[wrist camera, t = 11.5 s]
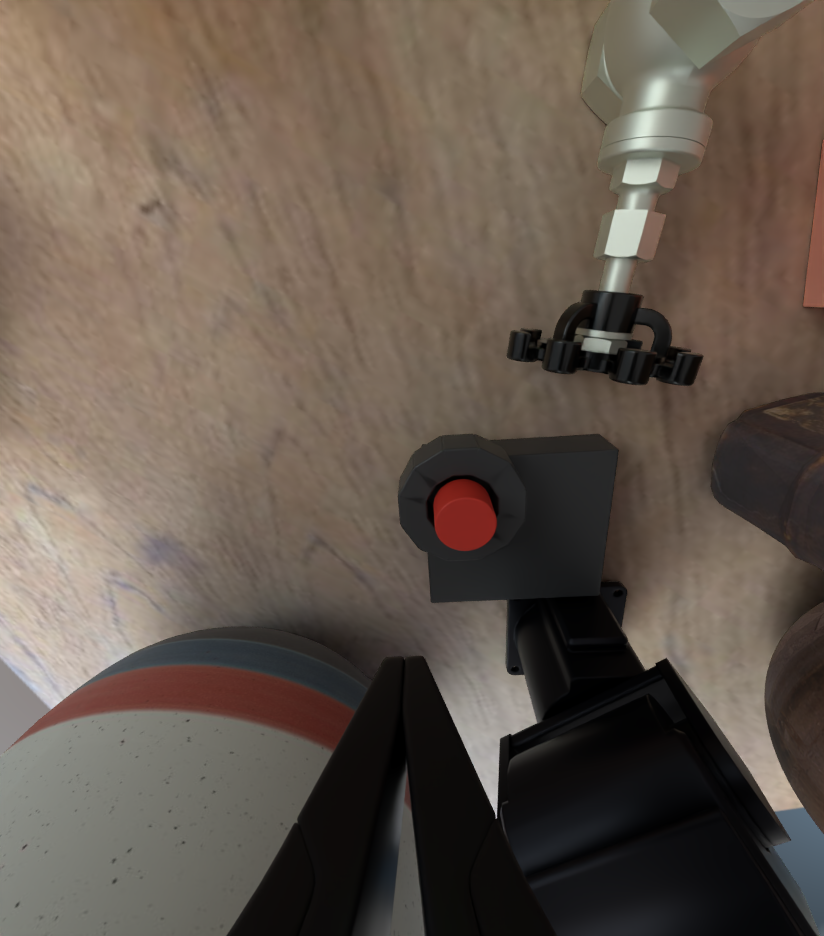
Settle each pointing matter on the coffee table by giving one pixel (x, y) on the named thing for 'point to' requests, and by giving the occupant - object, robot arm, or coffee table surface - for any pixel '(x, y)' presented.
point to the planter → (176, 787)
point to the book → (777, 472)
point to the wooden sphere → (800, 709)
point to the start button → (464, 515)
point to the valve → (646, 168)
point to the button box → (516, 515)
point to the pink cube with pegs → (816, 248)
